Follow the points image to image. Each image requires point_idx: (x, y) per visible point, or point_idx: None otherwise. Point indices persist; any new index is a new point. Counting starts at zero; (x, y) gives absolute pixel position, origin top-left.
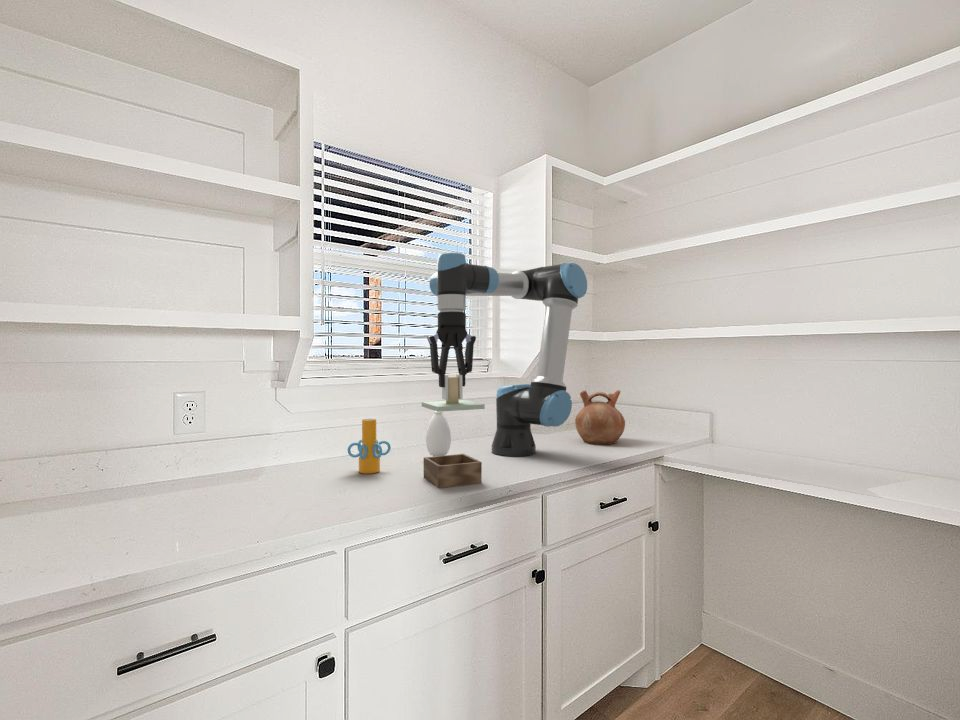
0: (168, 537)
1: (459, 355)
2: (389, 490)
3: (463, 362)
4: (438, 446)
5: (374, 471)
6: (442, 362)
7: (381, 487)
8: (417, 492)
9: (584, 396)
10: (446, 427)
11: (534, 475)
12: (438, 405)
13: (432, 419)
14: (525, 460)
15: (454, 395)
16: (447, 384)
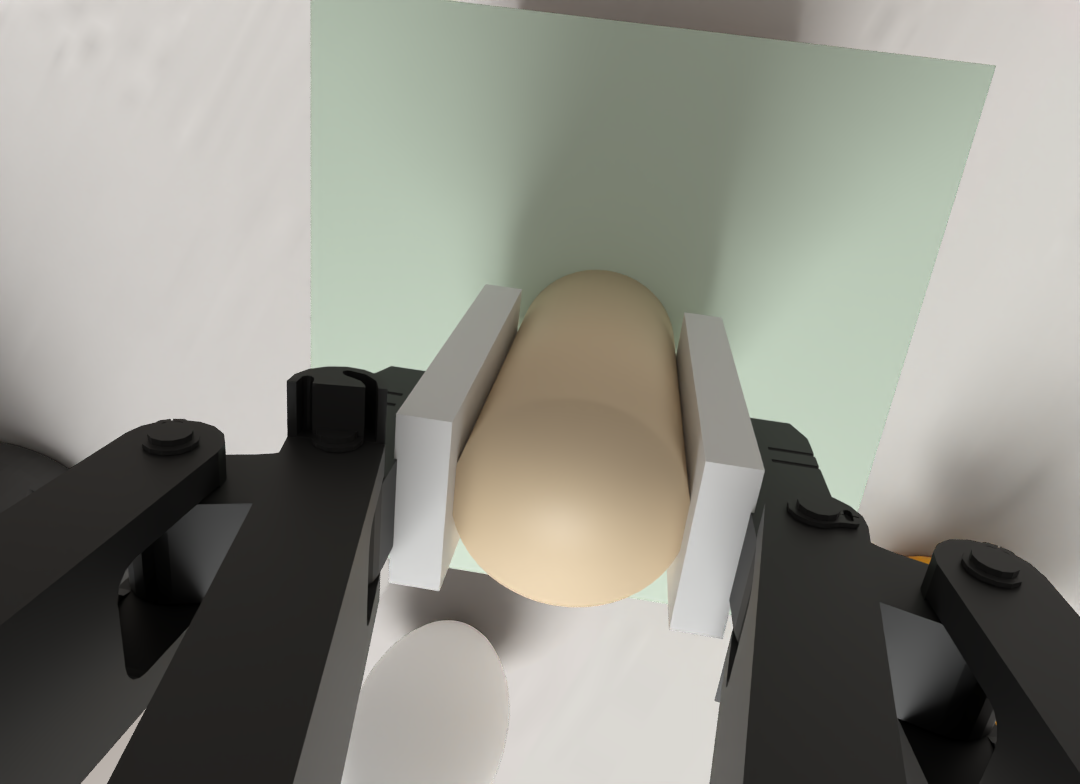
0: None
1: (290, 743)
2: (1055, 184)
3: (253, 564)
4: (467, 649)
5: (915, 559)
6: (882, 703)
7: (1053, 270)
8: (950, 50)
9: None
10: (376, 735)
11: (141, 15)
12: (881, 218)
13: None
14: (40, 359)
15: (603, 301)
16: (708, 394)
